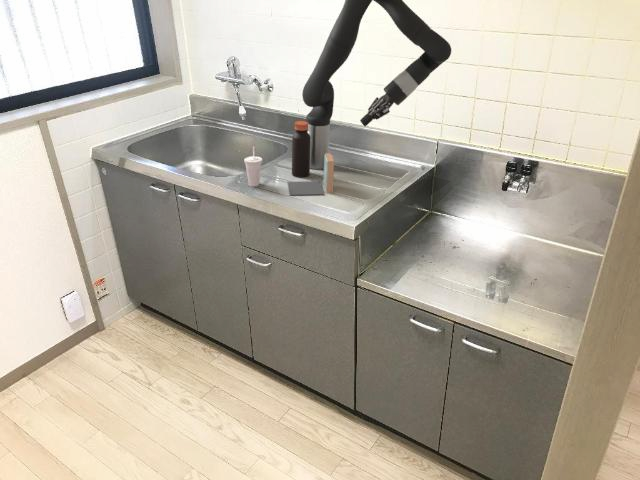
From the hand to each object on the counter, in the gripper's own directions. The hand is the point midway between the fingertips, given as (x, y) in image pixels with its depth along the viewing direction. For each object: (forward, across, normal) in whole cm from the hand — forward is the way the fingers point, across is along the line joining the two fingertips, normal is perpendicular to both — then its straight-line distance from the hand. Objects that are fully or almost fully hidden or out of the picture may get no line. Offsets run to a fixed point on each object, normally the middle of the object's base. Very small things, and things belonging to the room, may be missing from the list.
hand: (362, 123), depth 183 cm
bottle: (+31, -14, +3) cm, 34 cm away
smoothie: (+44, -5, -9) cm, 45 cm away
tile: (+25, 0, +9) cm, 26 cm away
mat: (+30, 0, +3) cm, 31 cm away
